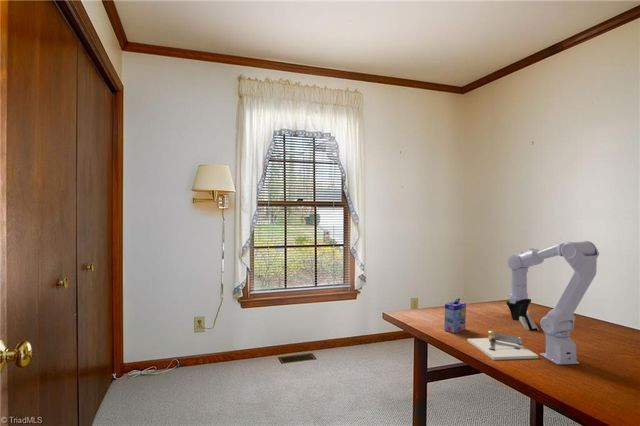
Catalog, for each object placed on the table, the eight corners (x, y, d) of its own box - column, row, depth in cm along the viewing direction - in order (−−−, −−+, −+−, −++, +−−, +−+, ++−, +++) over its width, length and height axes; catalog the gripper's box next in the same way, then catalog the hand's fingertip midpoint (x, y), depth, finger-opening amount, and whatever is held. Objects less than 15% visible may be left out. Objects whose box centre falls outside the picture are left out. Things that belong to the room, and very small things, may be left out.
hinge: (539, 331, 165) (530, 309, 166) (528, 333, 167) (519, 312, 168) (531, 320, 181) (523, 301, 182) (520, 323, 182) (513, 303, 184)
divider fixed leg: (490, 341, 149) (490, 338, 149) (494, 342, 149) (494, 339, 149) (489, 349, 140) (489, 346, 140) (493, 350, 140) (493, 347, 140)
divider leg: (487, 340, 149) (487, 331, 149) (489, 338, 152) (489, 329, 152) (521, 346, 142) (521, 337, 142) (522, 344, 144) (522, 335, 144)
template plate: (538, 358, 134) (538, 353, 134) (493, 359, 133) (493, 355, 133) (507, 339, 154) (506, 335, 154) (467, 341, 153) (467, 337, 153)
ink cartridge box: (455, 333, 163) (454, 300, 163) (443, 330, 167) (443, 298, 167) (466, 329, 169) (466, 297, 169) (455, 326, 173) (455, 295, 173)
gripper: (514, 281, 156) (515, 313, 156) (501, 285, 147) (501, 319, 147) (533, 283, 151) (533, 316, 151) (520, 288, 141) (520, 323, 141)
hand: (519, 318), depth 149 cm, fingers open, 7 cm apart
